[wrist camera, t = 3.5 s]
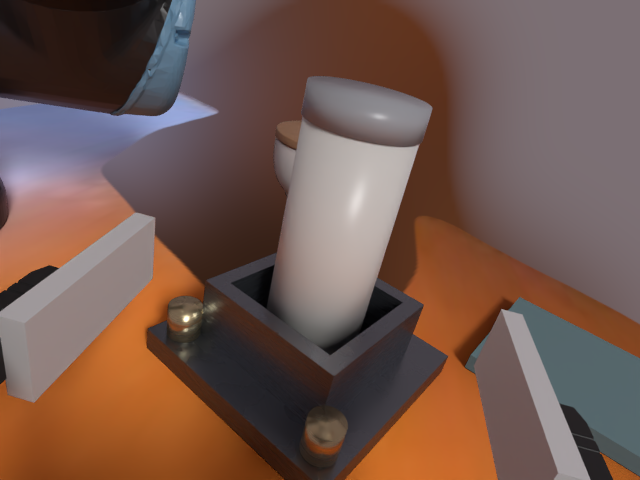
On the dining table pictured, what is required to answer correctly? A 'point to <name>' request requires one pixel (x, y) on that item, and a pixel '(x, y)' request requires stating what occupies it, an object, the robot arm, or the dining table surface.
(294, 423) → the housing
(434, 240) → the dining table surface
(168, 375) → the dining table surface
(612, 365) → the mat
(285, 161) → the lidded jar
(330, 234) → the cylinder
